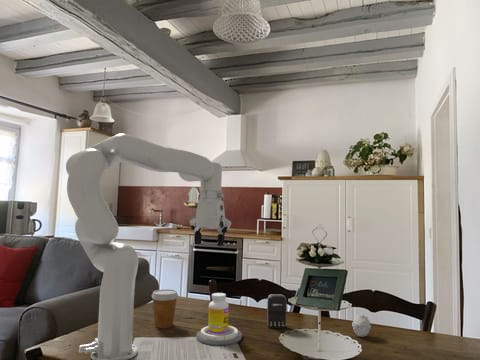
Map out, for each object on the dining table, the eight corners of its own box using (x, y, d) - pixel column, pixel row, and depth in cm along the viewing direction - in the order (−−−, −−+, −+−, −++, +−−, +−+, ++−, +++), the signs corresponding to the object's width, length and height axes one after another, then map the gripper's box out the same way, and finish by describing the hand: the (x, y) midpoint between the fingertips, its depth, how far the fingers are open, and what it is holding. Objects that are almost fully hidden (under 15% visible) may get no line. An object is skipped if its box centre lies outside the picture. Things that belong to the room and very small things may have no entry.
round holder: (210, 349, 107) (210, 341, 107) (188, 334, 119) (188, 327, 120) (250, 339, 115) (250, 332, 115) (226, 327, 128) (226, 321, 128)
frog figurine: (373, 335, 122) (372, 314, 122) (368, 341, 116) (367, 319, 117) (355, 331, 125) (354, 311, 126) (349, 337, 119) (349, 316, 120)
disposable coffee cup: (182, 326, 128) (183, 292, 129) (158, 331, 122) (159, 295, 123) (168, 320, 135) (169, 288, 137) (145, 324, 129) (147, 291, 130)
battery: (267, 329, 126) (267, 296, 128) (266, 325, 130) (267, 293, 131) (287, 329, 126) (287, 296, 127) (285, 326, 130) (286, 294, 131)
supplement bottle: (225, 338, 113) (225, 297, 115) (205, 336, 115) (206, 296, 116) (230, 331, 120) (230, 292, 121) (211, 330, 121) (212, 291, 123)
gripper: (236, 197, 127) (235, 245, 125) (197, 197, 135) (195, 243, 133) (225, 195, 120) (224, 247, 118) (184, 196, 128) (183, 244, 127)
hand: (209, 244), depth 126 cm, fingers open, 9 cm apart
